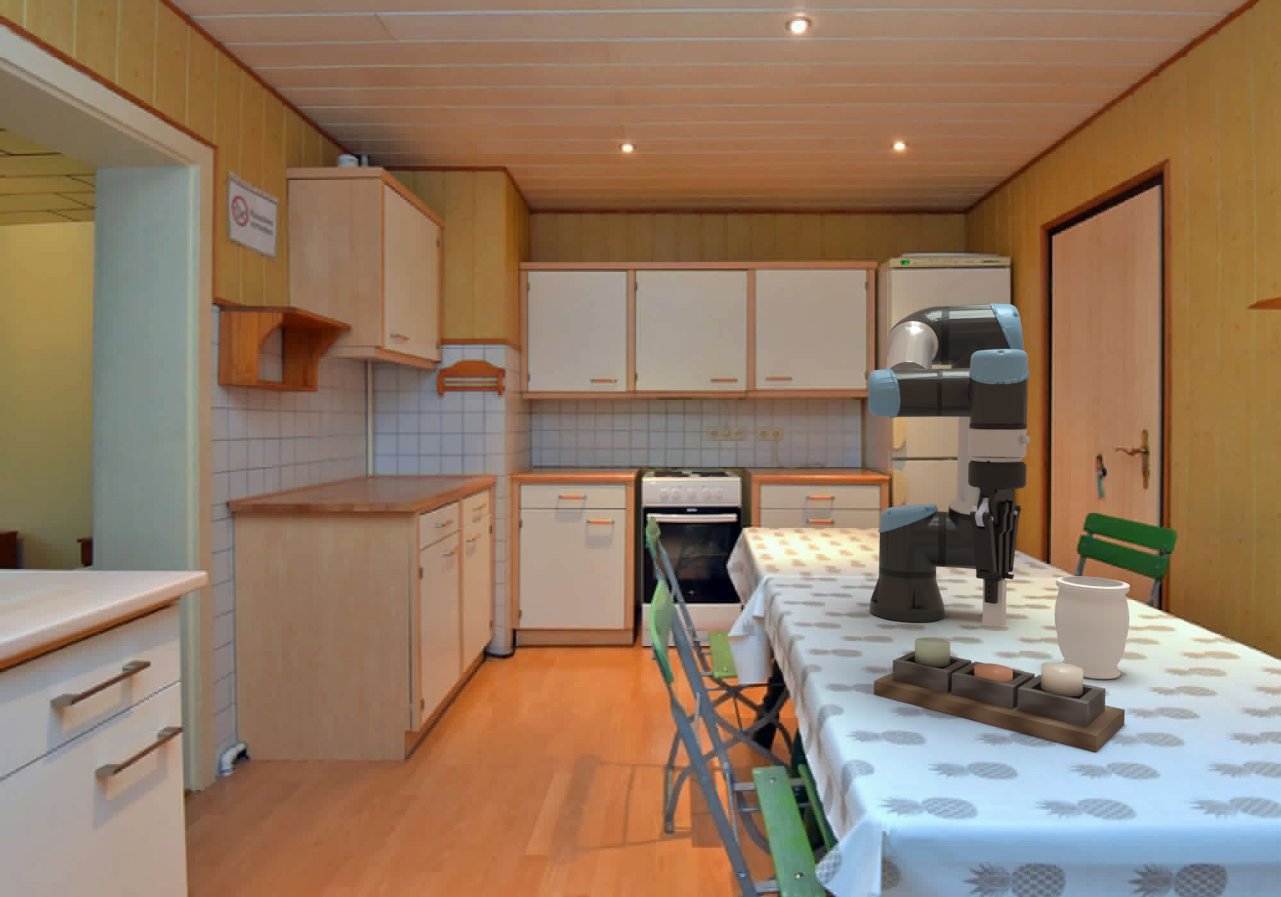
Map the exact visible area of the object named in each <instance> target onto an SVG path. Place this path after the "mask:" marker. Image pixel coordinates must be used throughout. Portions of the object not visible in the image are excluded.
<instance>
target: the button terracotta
mask: <svg viewBox="0 0 1281 897" xmlns="http://www.w3.org/2000/svg"><path fill="white" fill-rule="evenodd" d="M1012 669H1013V668H1011V667H1010V666H1009V667H1008V666H1005V665H1002V664H998V663H987V662H985V663H984V662H981V664H976V665H975V666H974V676H976V677H981V678H985V679H990V680H994V681H999V682H1003V683H1009V682H1010V681H1012V680H1013V670H1012Z"/></svg>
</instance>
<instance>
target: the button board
mask: <svg viewBox="0 0 1281 897" xmlns="http://www.w3.org/2000/svg"><path fill="white" fill-rule="evenodd" d="M981 663H982V662H980V661H974V662H972V660H971V659H967V658H966V659H965V658H960V657H957V656H951V655H950V665H948V666H944V667H932V666H927V665H922V664H919V663H917V662H915V650H913V651H911V652H909V653H905V655H904V654H903V655H902V656H900V657H898V658H895V659H893V660H892V672H891V673H890V672H889V674H886V675H884V676H882V677H880V678H877V679H876V680H874V682H873V695H876V696H879V697H883V698H887V699H892V700H895V701H899V702H903V703H906V704H911V705H915V706H918V707H922V708H925V709H929V710H932V711H933V710H934V711H937V712H941V713H944V714H949V715H953V716H957V717H959V718H964V719H968V720H971V721H976V722H978V723H979V722H980V723H983V724H986V725H990V726H994V727H999V728H1002V729H1005V730H1009V731H1013V732H1014V731H1015V732H1018V733H1021V734H1026V735H1030V736H1032V737H1037V738H1041V739H1044V740H1048V741H1053V742H1055V743H1060V744H1064V745H1066V746H1072V747H1075V748H1079V749H1083V750H1087V751H1091V752H1094V753H1098V751H1099V750H1100V749H1101V748H1102V747H1103V746H1104V745H1105V744H1107V742H1108V741H1109V740H1110V739H1111V738H1112V737H1113V736H1114V735H1115V734H1116V733H1117V732H1118V731H1119V730H1120V729H1122V728H1123V726H1124V725H1125V720H1126V719H1125V717H1126V715H1125V713H1126V712H1125V711H1126V710H1125V709H1124V708H1119V707H1115V706H1111V705H1106V688H1105V687H1101V686H1100V687H1099V686H1096V685H1090V684H1085V683H1083V694H1082V695H1080V696H1062V695H1057V694H1053V693H1049V692H1046V691H1044V690H1043V689H1041V674H1038V675H1037V676H1036V673H1034V672H1029V671H1024V670H1018V669H1013V668H1011V669H1012V670H1013V680H1012V681H1010V682H1009V683H1003V682H999V681H994V680H990V679H985V678H981V677H976V676H974V666H975V665H976V664H981Z"/></svg>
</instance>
